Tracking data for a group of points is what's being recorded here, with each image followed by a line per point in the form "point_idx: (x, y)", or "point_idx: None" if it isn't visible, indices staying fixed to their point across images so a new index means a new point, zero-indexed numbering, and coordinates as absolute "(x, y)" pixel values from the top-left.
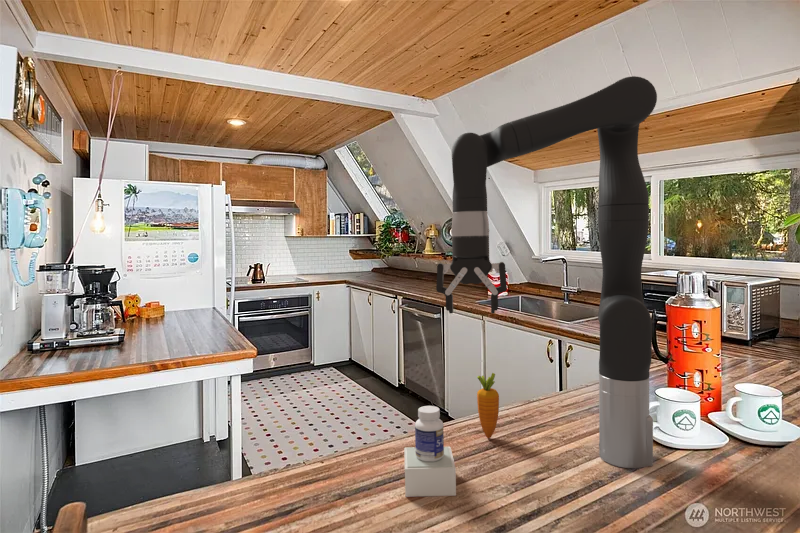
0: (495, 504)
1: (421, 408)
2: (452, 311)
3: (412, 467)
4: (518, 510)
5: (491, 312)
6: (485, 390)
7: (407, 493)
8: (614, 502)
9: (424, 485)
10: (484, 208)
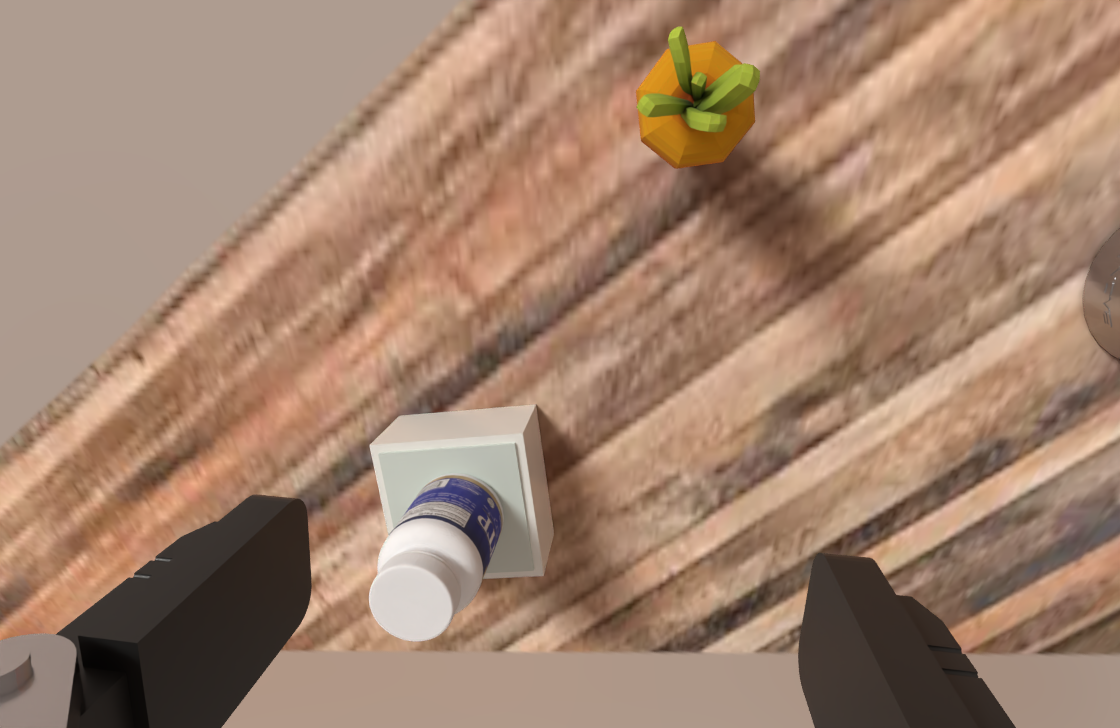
0: (655, 569)
1: (380, 595)
2: (298, 618)
3: None
4: (710, 594)
5: (802, 670)
6: (682, 127)
7: None
8: (984, 558)
9: None
10: None
